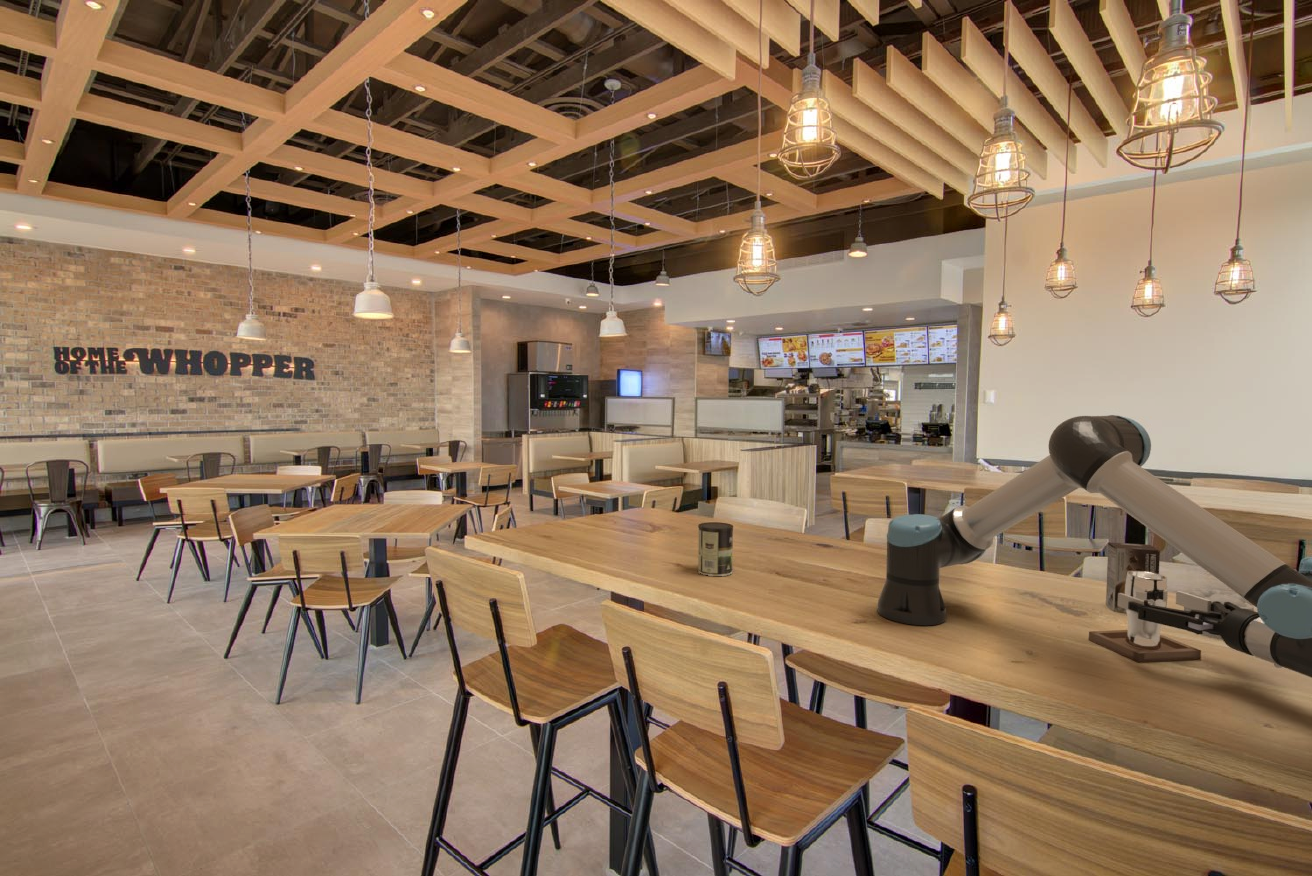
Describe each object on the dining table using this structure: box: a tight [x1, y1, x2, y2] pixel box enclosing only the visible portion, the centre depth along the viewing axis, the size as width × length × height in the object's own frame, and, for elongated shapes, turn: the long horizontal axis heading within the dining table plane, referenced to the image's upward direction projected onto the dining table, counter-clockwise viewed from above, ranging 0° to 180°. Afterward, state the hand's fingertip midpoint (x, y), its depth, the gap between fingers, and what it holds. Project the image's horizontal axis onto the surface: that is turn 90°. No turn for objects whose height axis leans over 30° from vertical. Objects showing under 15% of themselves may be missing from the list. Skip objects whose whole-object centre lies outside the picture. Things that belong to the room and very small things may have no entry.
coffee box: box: [1105, 541, 1161, 614], centre depth 156 cm, size 9×6×16 cm
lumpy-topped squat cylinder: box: [1183, 587, 1255, 640], centre depth 143 cm, size 10×13×9 cm
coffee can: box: [697, 521, 734, 577], centre depth 187 cm, size 10×10×14 cm
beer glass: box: [1125, 571, 1168, 651], centre depth 130 cm, size 7×7×15 cm
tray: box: [1088, 629, 1202, 663], centre depth 131 cm, size 14×12×2 cm
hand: (1148, 598), depth 130 cm, fingers open, 13 cm apart
